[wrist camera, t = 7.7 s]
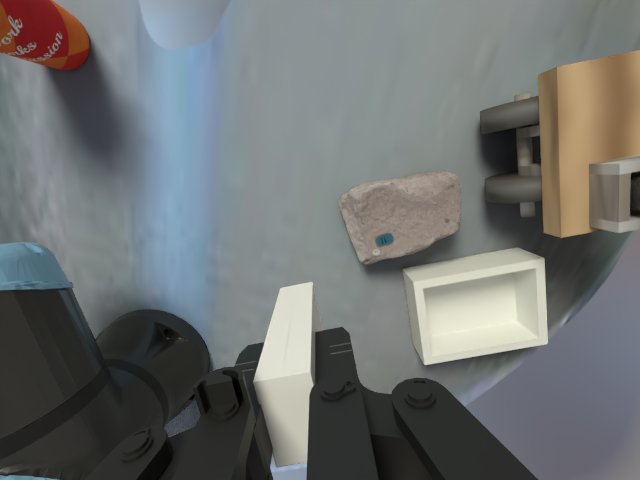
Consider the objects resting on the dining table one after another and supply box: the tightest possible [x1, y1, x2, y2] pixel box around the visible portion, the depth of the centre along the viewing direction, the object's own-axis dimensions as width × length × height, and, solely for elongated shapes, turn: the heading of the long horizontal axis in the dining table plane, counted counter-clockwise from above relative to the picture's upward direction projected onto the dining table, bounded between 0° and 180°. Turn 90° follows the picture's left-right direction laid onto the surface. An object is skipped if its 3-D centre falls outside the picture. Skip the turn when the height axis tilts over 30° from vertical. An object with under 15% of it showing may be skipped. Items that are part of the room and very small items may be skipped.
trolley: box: [480, 50, 640, 238], centre depth 32 cm, size 12×15×13 cm
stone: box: [339, 171, 461, 265], centre depth 37 cm, size 13×10×6 cm
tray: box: [402, 247, 548, 365], centre depth 40 cm, size 15×11×5 cm
